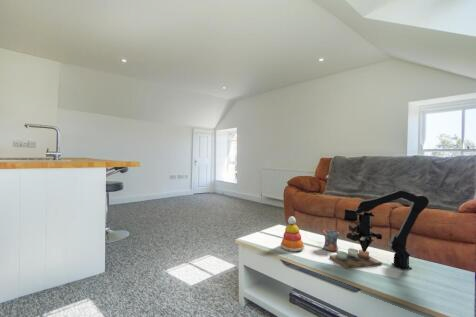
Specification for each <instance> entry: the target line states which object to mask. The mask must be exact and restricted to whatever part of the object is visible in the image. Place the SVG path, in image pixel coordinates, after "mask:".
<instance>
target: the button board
mask: <svg viewBox="0 0 476 317" xmlns="http://www.w3.org/2000/svg"><path fill="white" fill-rule="evenodd" d="M329 259H330V260H332V261H333V262H335V263H336V264H338V265H339V266H341V267H343V269H345V270H347V269H356V268H368V267H375V266H376V267H377V266H382V265H383V264H382V261H380V260H378V259H376V258H375V257H373V256H370V255H369V257H367V258H366V257H361V256H359V252H358V256H351V255H349V254H348V253H347V259H339V258H338V257H337V254H331V255H329Z"/></svg>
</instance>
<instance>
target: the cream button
mask: <svg viewBox="0 0 476 317" xmlns="http://www.w3.org/2000/svg"><path fill="white" fill-rule="evenodd" d="M358 253H359V249H356V248H353V247H351V248H348V249H347V254H349V255H351V256H358Z"/></svg>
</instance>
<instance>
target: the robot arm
mask: <svg viewBox="0 0 476 317" xmlns="http://www.w3.org/2000/svg"><path fill="white" fill-rule="evenodd" d="M399 199H403V200H406V201H409V202H410V207H409V210H408V213H407V214H406V217H405V218H404V219H403V220H404V221H403V223H402V225H401V227H400V228H399V230H398V232H397V233H396V234H394V233H392V235H391V237H390V239H389V243H390V244H389V245H390V247H391V249H392V251H393V252H395V253H394V254H393V262H392V263H391V266H394V267H396V268H398V269H399V270H402V271H403V270H412V269H413V267H412V266H410V257H411V254H410V252H409V250H408V249H407V240H408V237H409V235H410V234H411V233H410V232H411V231H412V229H413V227H414V225H415V223H416V221H417V219H418V217H419V216H420V213H422V212H423V211H424V210H425V209H426V208H427V207H428V205H429V204H430V201H429V199H428V197H427V196H425V195H423V194H421V193H417V194H415V193H411V192H408V191H405V190H403V189H397V190H396V191H393V192H390V193H387V194H384V195H381V196H379V197H375V198H367V199H362V200H361V201H360V202H359V203H358V206H357V207H356V209H349V208H345V209H344V216H343V219H344V221H345V222H351V223H356V222H357V221H358V223H357V224H356V226H355V225H354V224H349V225H348V230H349V231H350V232H347V234H346V238H347V239H349V240H351V241H354V242H359V244H360V247H361V250H363V251H364V252H365V251H368V248H369V246H370V245H371V243H372V242H374V239H373V238H376V239H377V240H383V236H382V233H380V232H377V231H373V230H372V231H371V229H373V226H372V225H371V219H372V218H371V217H373V218H374V217H375V213H373V211H372V210H374V209H376V208H377V207H378V206H381V205H384V204H387V203H390V202H393V201H396V200H399Z"/></svg>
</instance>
